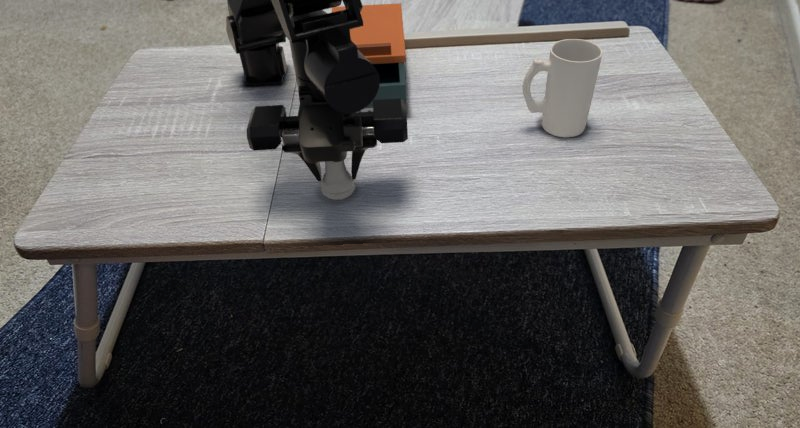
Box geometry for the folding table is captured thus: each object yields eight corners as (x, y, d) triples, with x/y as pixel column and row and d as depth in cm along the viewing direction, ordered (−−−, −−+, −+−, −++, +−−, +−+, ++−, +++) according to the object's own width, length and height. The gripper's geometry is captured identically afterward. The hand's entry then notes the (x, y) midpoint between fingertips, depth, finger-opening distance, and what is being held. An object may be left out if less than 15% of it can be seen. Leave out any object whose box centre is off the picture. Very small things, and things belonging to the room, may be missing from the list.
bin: (406, 117, 88) (405, 84, 85) (331, 121, 88) (326, 89, 85) (402, 59, 102) (400, 29, 98) (336, 63, 102) (332, 33, 98)
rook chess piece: (352, 177, 78) (346, 127, 73) (358, 198, 75) (352, 147, 69) (319, 183, 77) (310, 133, 72) (324, 204, 74) (315, 154, 69)
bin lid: (405, 62, 90) (405, 46, 88) (326, 66, 90) (324, 50, 88) (401, 9, 105) (400, -6, 103) (333, 13, 105) (331, -2, 103)
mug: (579, 111, 87) (594, 37, 79) (592, 137, 82) (609, 60, 74) (513, 116, 87) (521, 41, 79) (522, 141, 82) (531, 65, 74)
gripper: (223, 113, 58) (255, 225, 69) (407, 103, 58) (412, 216, 69) (241, 61, 67) (268, 168, 77) (403, 51, 67) (407, 160, 77)
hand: (337, 178), depth 75 cm, fingers open, 4 cm apart
